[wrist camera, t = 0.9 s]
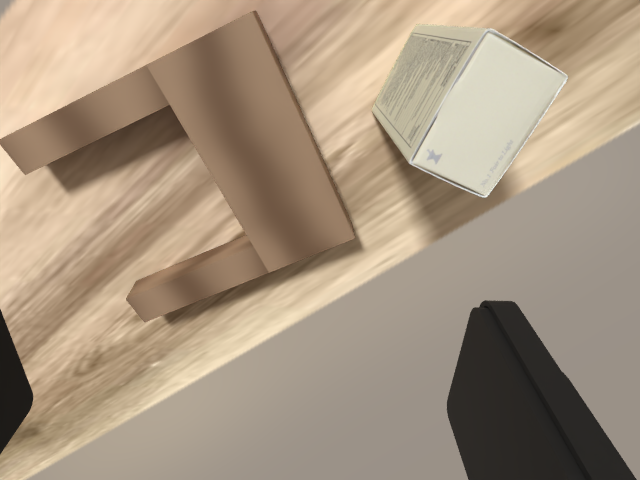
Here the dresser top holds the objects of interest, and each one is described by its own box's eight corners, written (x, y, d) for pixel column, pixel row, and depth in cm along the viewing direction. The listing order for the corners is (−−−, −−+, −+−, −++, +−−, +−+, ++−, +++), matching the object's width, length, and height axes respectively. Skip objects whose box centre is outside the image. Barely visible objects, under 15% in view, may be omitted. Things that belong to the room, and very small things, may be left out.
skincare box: (421, 136, 31) (485, 206, 20) (367, 109, 30) (403, 168, 19) (473, 49, 29) (576, 77, 18) (415, 16, 27) (488, 25, 17)
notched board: (256, 10, 27) (252, 11, 25) (351, 223, 34) (355, 238, 32) (19, 130, 30) (-3, 140, 28) (153, 303, 37) (144, 322, 35)
